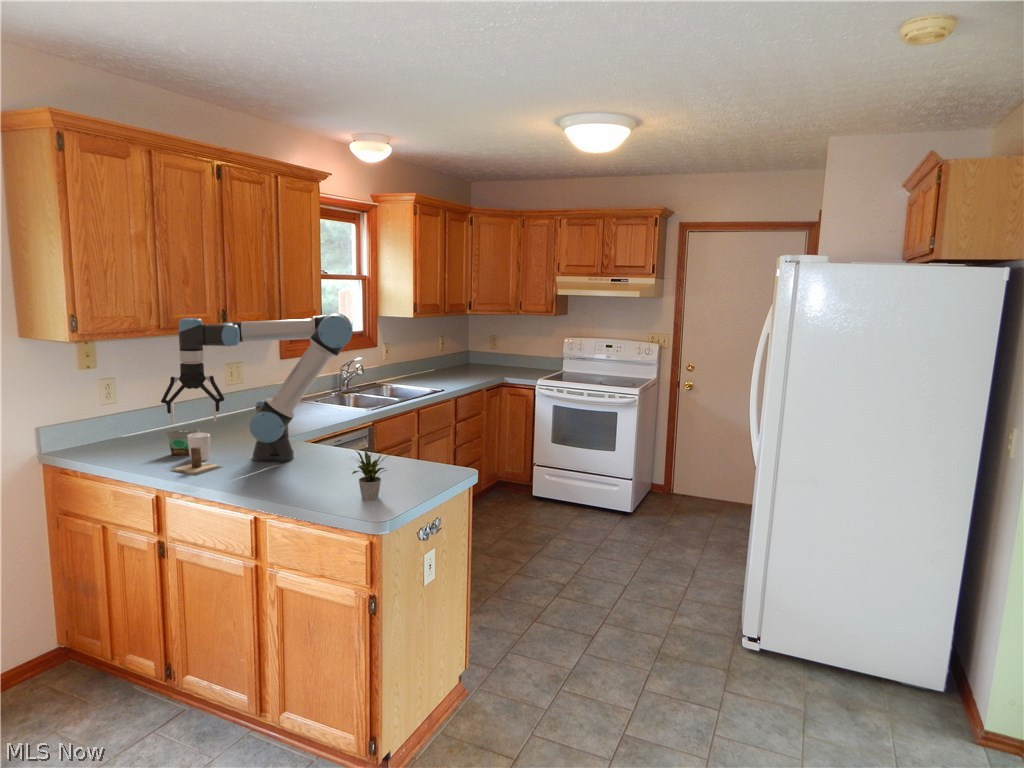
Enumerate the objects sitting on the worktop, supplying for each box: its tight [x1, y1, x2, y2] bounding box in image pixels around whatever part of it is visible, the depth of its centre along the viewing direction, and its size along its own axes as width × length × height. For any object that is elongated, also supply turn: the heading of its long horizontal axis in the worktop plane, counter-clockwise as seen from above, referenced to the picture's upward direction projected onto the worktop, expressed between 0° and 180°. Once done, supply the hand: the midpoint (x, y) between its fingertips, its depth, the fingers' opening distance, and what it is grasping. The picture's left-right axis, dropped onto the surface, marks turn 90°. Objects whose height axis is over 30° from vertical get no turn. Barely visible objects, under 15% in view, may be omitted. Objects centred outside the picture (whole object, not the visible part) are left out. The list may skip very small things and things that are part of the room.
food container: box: [166, 428, 202, 457], centre depth 256 cm, size 12×6×10 cm, turn 105°
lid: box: [173, 447, 220, 475], centre depth 237 cm, size 10×10×8 cm
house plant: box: [350, 449, 391, 501], centre depth 212 cm, size 14×14×16 cm
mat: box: [170, 465, 224, 477], centre depth 238 cm, size 13×13×1 cm
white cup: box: [187, 432, 211, 462], centre depth 251 cm, size 8×8×10 cm
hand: (194, 421), depth 235 cm, fingers open, 13 cm apart
